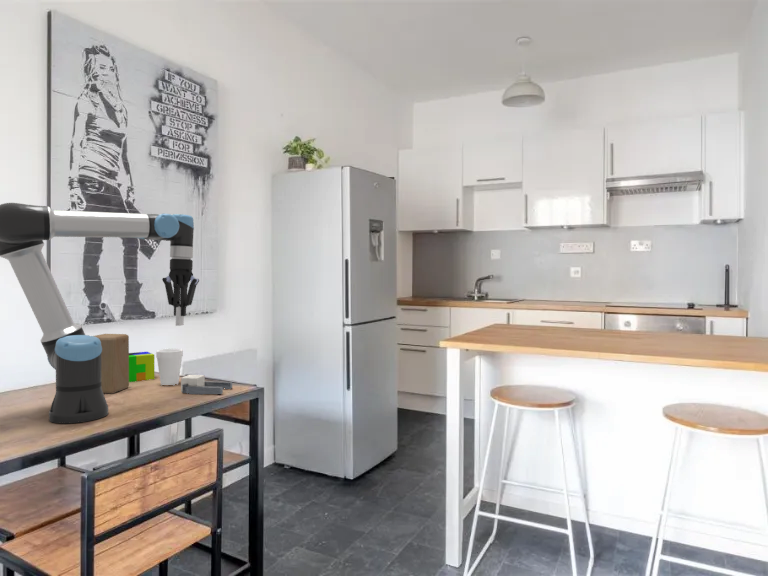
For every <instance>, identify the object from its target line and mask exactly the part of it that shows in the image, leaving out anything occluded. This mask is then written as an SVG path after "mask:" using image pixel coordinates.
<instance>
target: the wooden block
mask: <svg viewBox="0 0 768 576" xmlns="http://www.w3.org/2000/svg"><path fill="white" fill-rule="evenodd" d="M93 336H94V337H97V338H99V339H100V341H101V346H102V352H101V385H102V391H103V394H114V393H117V392H120V391H122V390H125V389H128V388H129V385H130V382H129V353H130V351H129V350H130V344H129V343H130V341H129V339H130V338H129V334H127V333H103V334H101V333H100V334H96V335H93Z"/></svg>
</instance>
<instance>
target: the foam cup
mask: <svg viewBox="0 0 768 576" xmlns="http://www.w3.org/2000/svg"><path fill="white" fill-rule="evenodd" d="M155 352H156V353H155V354H156V355H155V357H156V360H157V367H158V375H159V381H160V386H162V385H173V386H176V385H175V384H177V385H179V382H180V375H181V368H182V361H183V356H184V353H183V352H184V351H183V348H161V349H157V350H156V351H155Z"/></svg>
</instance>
